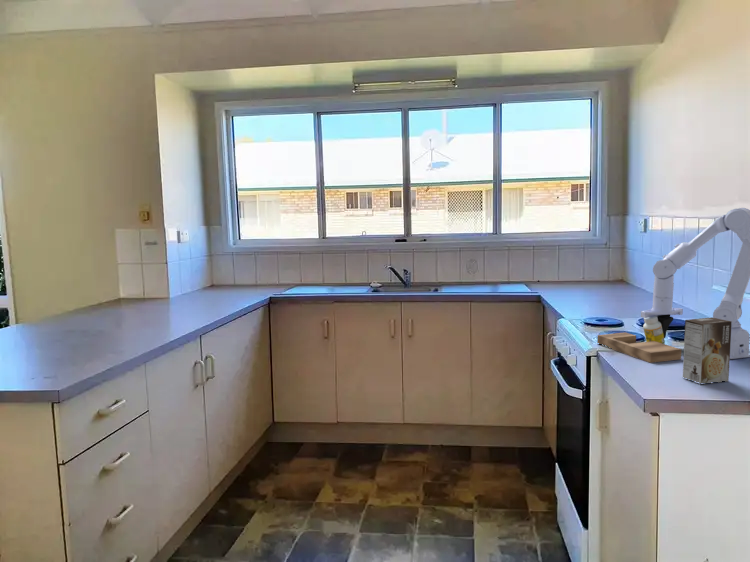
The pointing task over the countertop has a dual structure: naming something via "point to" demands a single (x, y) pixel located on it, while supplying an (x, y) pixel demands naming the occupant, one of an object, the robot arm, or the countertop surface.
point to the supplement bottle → (653, 330)
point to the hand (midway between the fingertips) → (660, 337)
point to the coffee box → (707, 350)
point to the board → (640, 347)
